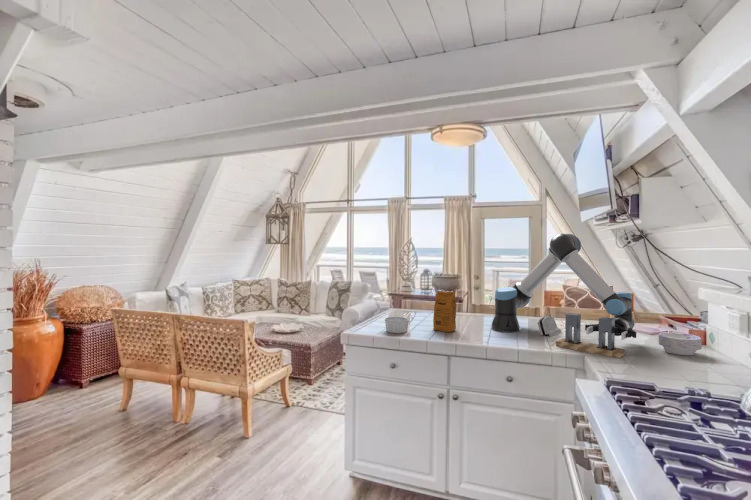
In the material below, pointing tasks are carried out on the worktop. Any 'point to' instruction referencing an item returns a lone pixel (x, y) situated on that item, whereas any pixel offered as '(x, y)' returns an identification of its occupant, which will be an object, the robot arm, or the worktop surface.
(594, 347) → the oak rail
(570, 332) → the seated clip
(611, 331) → the steel clip
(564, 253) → the robot arm
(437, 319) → the coffee package
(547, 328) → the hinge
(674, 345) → the paper bowls
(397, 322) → the ramekin
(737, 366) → the worktop surface
